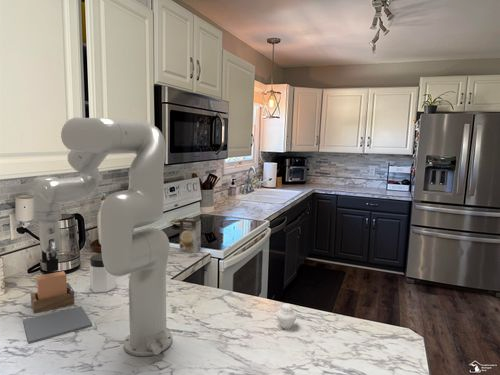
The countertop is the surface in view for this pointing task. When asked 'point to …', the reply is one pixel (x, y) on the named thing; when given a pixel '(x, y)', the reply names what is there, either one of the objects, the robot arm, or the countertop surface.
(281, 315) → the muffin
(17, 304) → the countertop surface
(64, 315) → the mat
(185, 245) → the coffee box
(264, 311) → the countertop surface
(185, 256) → the countertop surface
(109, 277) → the jar
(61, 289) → the orange block
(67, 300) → the dispenser
